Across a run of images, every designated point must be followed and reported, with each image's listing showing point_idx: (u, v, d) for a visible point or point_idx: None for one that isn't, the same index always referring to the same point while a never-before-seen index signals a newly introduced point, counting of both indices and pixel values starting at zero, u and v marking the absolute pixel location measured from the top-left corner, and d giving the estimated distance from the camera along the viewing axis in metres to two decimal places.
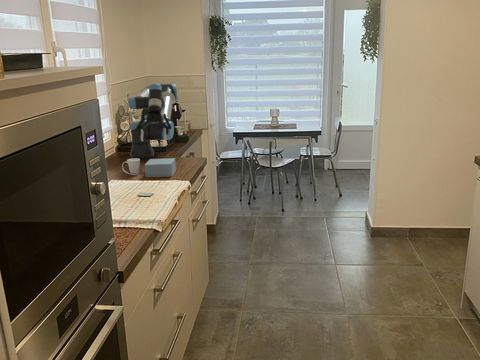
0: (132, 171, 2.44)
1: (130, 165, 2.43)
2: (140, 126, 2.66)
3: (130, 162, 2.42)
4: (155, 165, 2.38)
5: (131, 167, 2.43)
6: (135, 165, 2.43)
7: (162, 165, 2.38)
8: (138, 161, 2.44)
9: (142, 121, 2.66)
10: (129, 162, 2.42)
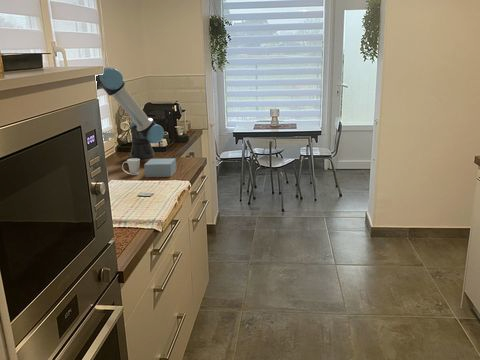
0: (132, 171, 2.44)
1: (130, 165, 2.43)
2: None
3: (130, 162, 2.42)
4: (154, 165, 2.38)
5: (131, 167, 2.43)
6: (135, 165, 2.43)
7: (161, 165, 2.37)
8: (138, 161, 2.44)
9: None
10: (129, 162, 2.42)
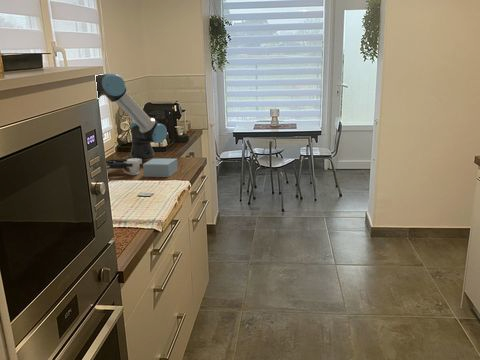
0: (132, 171, 2.44)
1: None
2: None
3: None
4: (153, 165, 2.38)
5: (131, 167, 2.43)
6: None
7: (159, 165, 2.37)
8: (138, 161, 2.44)
9: None
10: None
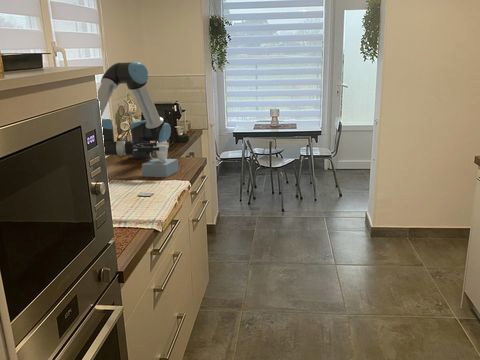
0: (160, 158, 2.42)
1: (158, 152, 2.41)
2: None
3: None
4: (151, 165, 2.38)
5: (159, 154, 2.41)
6: (164, 152, 2.41)
7: (157, 165, 2.37)
8: (166, 148, 2.42)
9: None
10: None
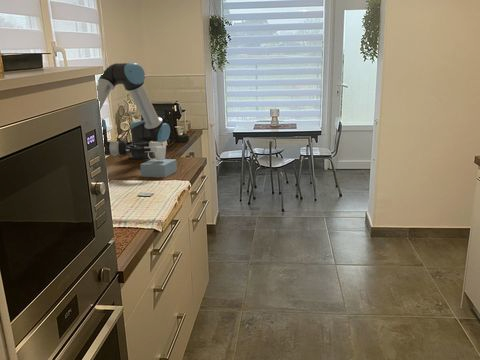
0: (158, 158, 2.42)
1: (156, 152, 2.41)
2: None
3: None
4: (150, 165, 2.38)
5: (157, 154, 2.41)
6: (162, 152, 2.41)
7: (156, 166, 2.37)
8: (164, 148, 2.42)
9: None
10: None
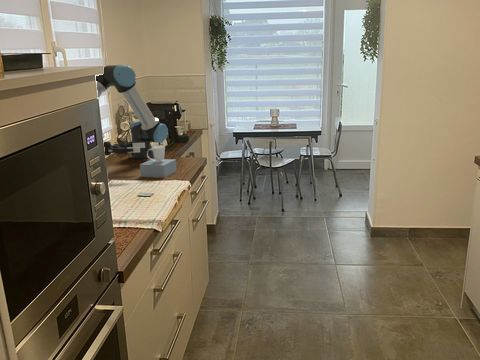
0: (157, 159, 2.41)
1: (155, 153, 2.40)
2: None
3: (155, 150, 2.39)
4: (149, 165, 2.38)
5: (156, 155, 2.40)
6: (161, 152, 2.40)
7: (155, 166, 2.37)
8: (163, 149, 2.41)
9: None
10: (154, 150, 2.39)
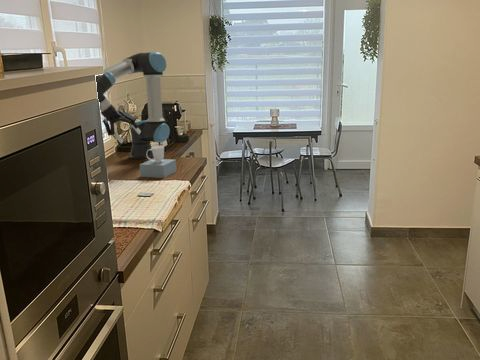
0: (157, 159, 2.41)
1: (154, 153, 2.40)
2: (110, 130, 2.54)
3: (154, 150, 2.39)
4: (149, 165, 2.37)
5: (155, 155, 2.40)
6: (160, 152, 2.40)
7: (155, 166, 2.36)
8: (162, 148, 2.41)
9: (107, 126, 2.51)
10: (153, 150, 2.39)
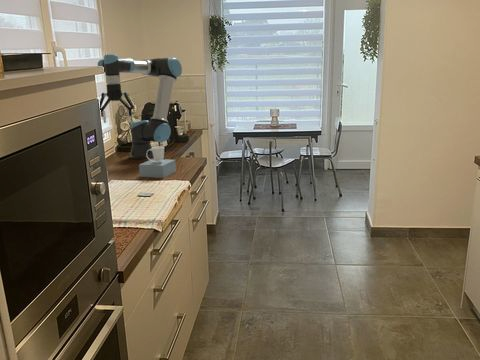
0: (156, 159, 2.41)
1: (154, 153, 2.40)
2: (101, 105, 2.52)
3: (155, 150, 2.39)
4: (148, 166, 2.37)
5: (155, 155, 2.40)
6: (160, 152, 2.40)
7: (155, 166, 2.36)
8: (163, 149, 2.41)
9: (102, 101, 2.50)
10: (154, 150, 2.39)
